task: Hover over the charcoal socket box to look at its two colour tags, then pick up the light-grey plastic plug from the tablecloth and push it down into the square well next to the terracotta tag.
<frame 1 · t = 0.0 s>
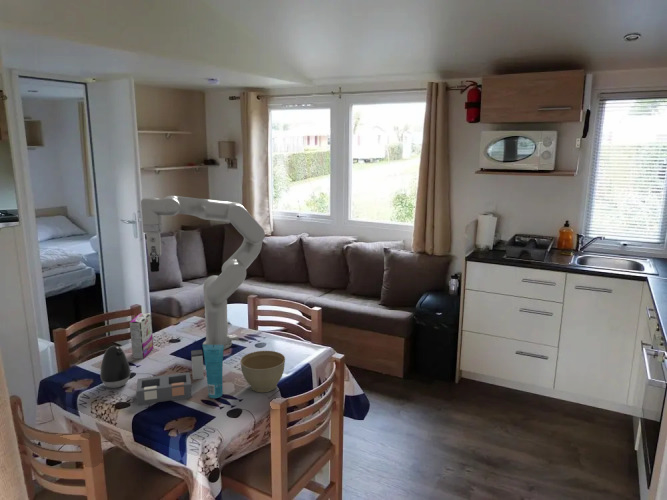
hand: (155, 268, 205), 37 cm above the table, tool pointing down, fingers open, 9 cm apart
planter bowl: (263, 387, 182), on the table
plug: (198, 376, 190), on the table
candy bar box: (143, 354, 210), on the table
socket box: (165, 394, 176), on the table
tube: (215, 395, 176), on the table
dark grey egg: (116, 385, 183), on the table
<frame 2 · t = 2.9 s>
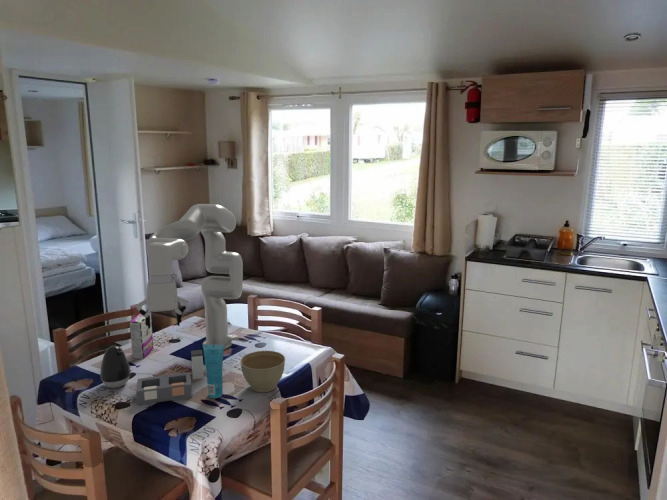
hand: (164, 325, 172), 25 cm above the table, tool pointing down, fingers open, 9 cm apart
nothing on the table moved.
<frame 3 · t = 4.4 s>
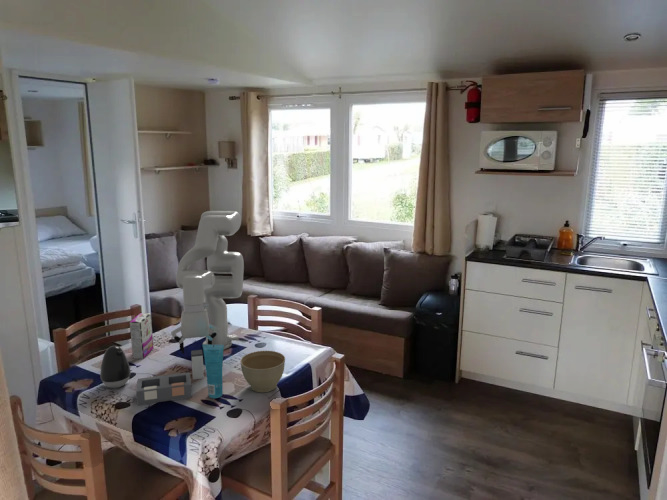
hand: (196, 351, 187), 11 cm above the table, tool pointing down, fingers open, 9 cm apart
nothing on the table moved.
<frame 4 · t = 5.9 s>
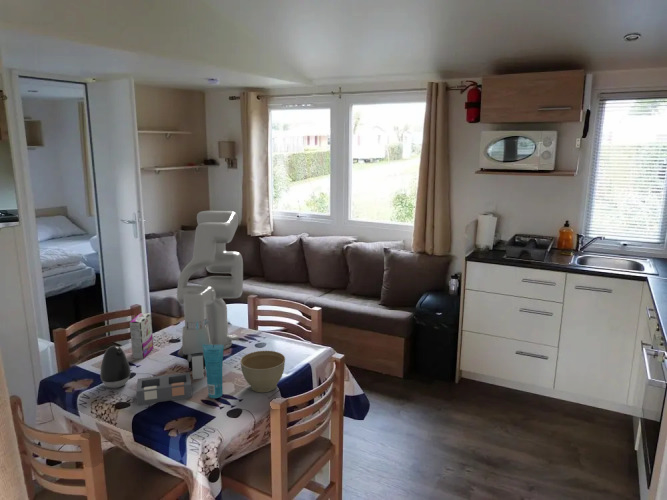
hand: (197, 368, 189), 3 cm above the table, tool pointing down, fingers closed on plug, 4 cm apart
plug: (198, 376, 190), on the table, touching gripper
everything else where it was.
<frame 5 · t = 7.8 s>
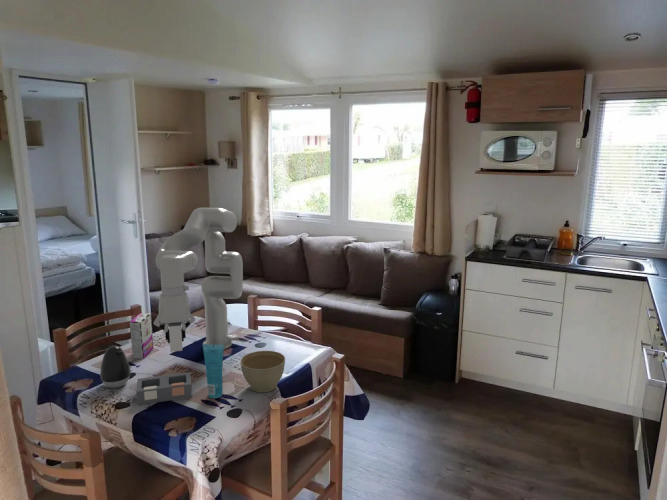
hand: (175, 340, 174), 20 cm above the table, tool pointing down, fingers closed on plug, 4 cm apart
plug: (176, 349, 174), point 17 cm above the table, touching gripper
everything else where it was.
when the fingers open (6 cm above the table, at t = 10.1 s): plug drops 2 cm, resting on socket box.
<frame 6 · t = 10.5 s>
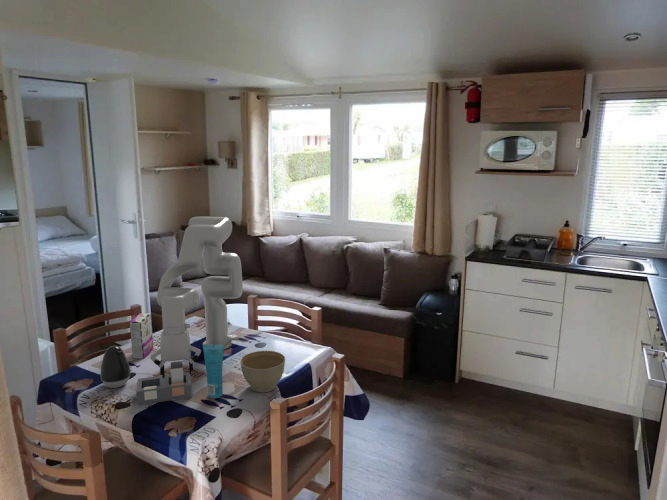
hand: (177, 374, 176), 7 cm above the table, tool pointing down, fingers open, 8 cm apart
plug: (177, 389, 177), point 1 cm above the table, touching socket box
everything else where it was.
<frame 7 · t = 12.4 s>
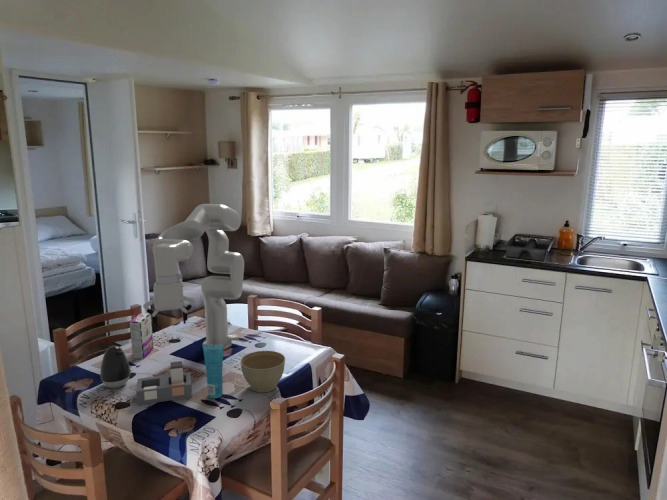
hand: (170, 324, 179), 24 cm above the table, tool pointing down, fingers open, 9 cm apart
nothing on the table moved.
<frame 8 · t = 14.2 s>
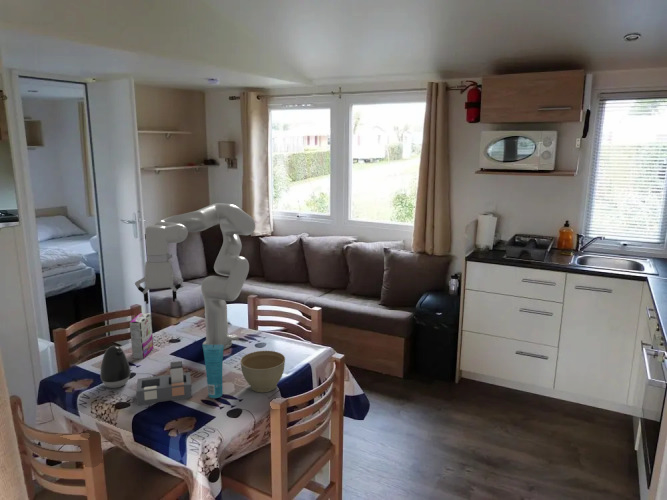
hand: (160, 301, 189), 28 cm above the table, tool pointing down, fingers open, 9 cm apart
nothing on the table moved.
at the end: plug 0.1 cm from the target spot on the socket box, point 1.0 cm above the socket box's base; plug tilted 0°; the gripper is holding nothing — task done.
